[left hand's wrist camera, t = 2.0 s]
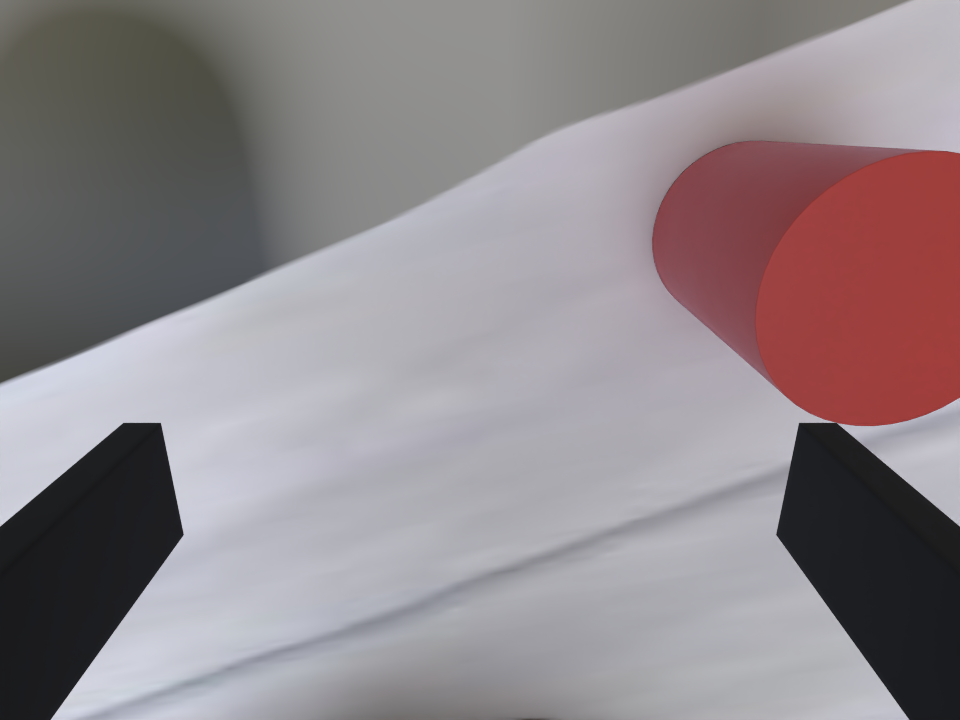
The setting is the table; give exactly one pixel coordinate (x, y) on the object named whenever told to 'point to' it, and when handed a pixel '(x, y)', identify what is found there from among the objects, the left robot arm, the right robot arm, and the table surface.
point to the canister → (824, 271)
